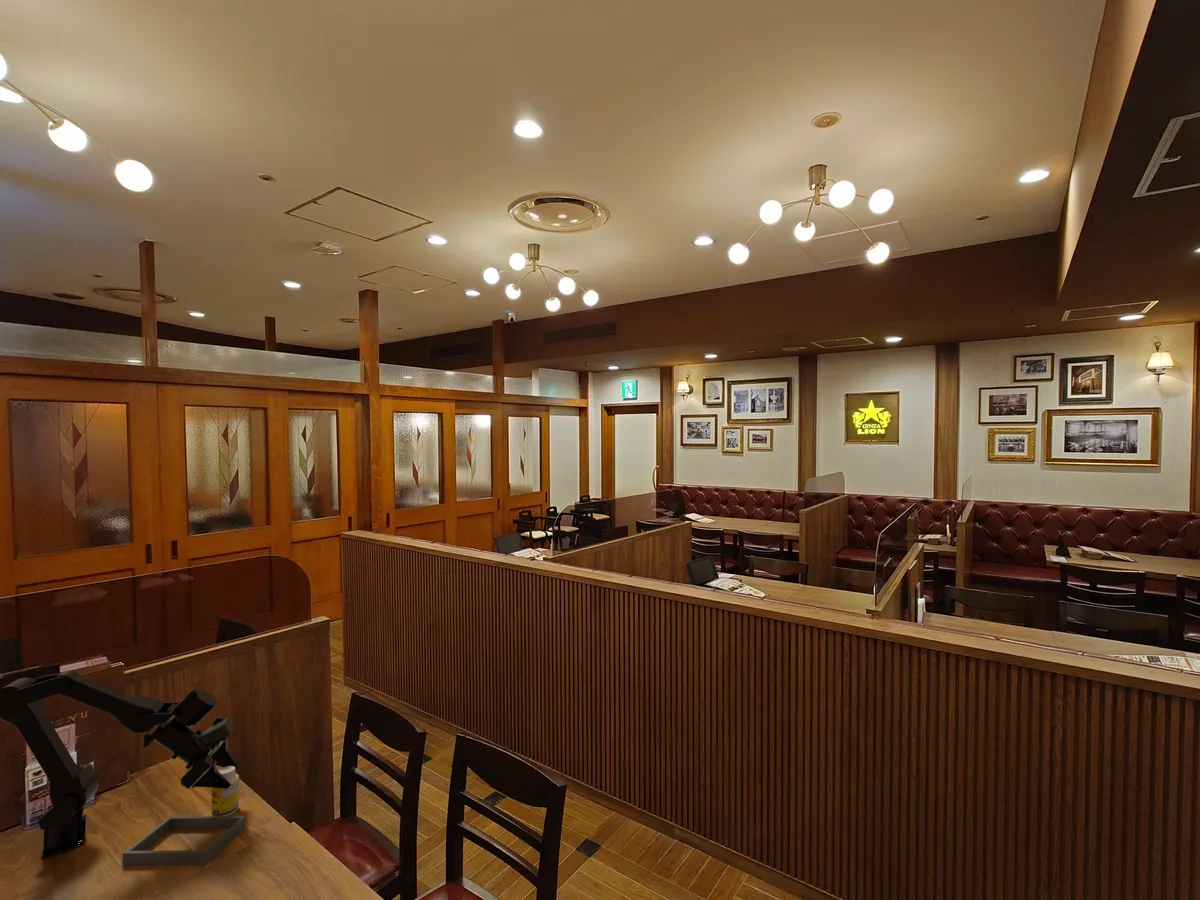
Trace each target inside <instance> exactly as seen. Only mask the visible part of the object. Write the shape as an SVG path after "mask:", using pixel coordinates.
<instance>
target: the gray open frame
mask: <svg viewBox="0 0 1200 900" xmlns="http://www.w3.org/2000/svg"><path fill="white" fill-rule="evenodd" d="M246 827H247V815H229V816H212V815H200V816H198V815H197V816H195V815H192V816H191V815H189V816H188V815H187V816H186V815H184V816H182V815H181V816H168V817H167V818H166V819H165V820H164V821H162V822H161V823H160V824H159V825H157V826H156V827H155V828H153V829H152V830H151V831H150V832H148V833H146V835H144V836H143V837H142V838H140V839H139V840H138V841H136V842H135V843H134V844H132V845H131V846H130V847H129V848H128V849H126V850H125V851H124V852H123V853H122V858H121V859H122V860H121V861H122V862H121V863H122V864H121V866H123V867H124V866H125V867H126V866H131V867H132V866H133V867H134V866H207V865H208V864H209V863H210V862H211V861H213V859H215V857H217V856H218V854H220V853H221V852H222V851H223V850H224V849H225V848H226V847H227V846H228V845H229V844H230V843H231V842H232V841H233V840H234V839H235V838H236V837H237V836H238V835H239V834H240V833H241V832H242V831H244V829H245V828H246ZM172 830H226V831H225V832H224V833H223V834H222V835H220V836H219V837H218V838H217V839H216V840H215V841H214V842H213V843H212V844H210V846H209V847H208V848H207V849H203V850H202V849H201V850H200V849H199V850H197V849H196V850H195V849H194V850H192V849H191V850H190V849H189V850H188V849H187V850H183V849H182V850H181V849H180V850H178V849H177V850H176V849H175V850H147V849H148V848H150V847H151V846H152V845H153V844H155V843H156V842H157V841H159V840H160V839H161V838H162V837H164V836H165V835H166V834H167V833H168V832H170V831H172Z"/></svg>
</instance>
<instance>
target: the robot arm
mask: <svg viewBox="0 0 1200 900" xmlns="http://www.w3.org/2000/svg"><path fill="white" fill-rule="evenodd" d="M59 694H60V695H63V696H65V697H68V698H70V699H72V700H75V701H77V702H80V703H82V704H85V705H87V706H90V707H91V708H94V709H96V710H100V711H101V712H104V713H107V714H109V715H111V716H112V717H114V718H115V719H116V720H117V721H118V723H119V724H120V725H121V726H123V727H125V728H126V729H127V730H129V731H131V732H133V733H135V734H143V733H145V734H144V735H143V744H142V745H143V746H142V747H143V749H145V748H147V747H148V746H149V745H151V743H152V742H153V741H154V742H156V743H157V744H158V745H160V746H162V748H164V749H165V750H167V751H168V752H170V753H171V754H172V755H171V757H170V758H171V759H172V760H176V758H179V759H180V760H181V761H183V762H184V763H186V766H185V768H186V770H185V772H184V774H183V775H182V777H181V779H180V785H181V786H182V787H184V788H185V789H187V790H189V789H190V788H191V789H194V788H211V789H212V788H224V789H227V788H229V787H230V785H231V783H230V782H229V781H228V780H227V779H226V778H225V777H224V776H223V775H222V774H221V773H220V772H219V771H218V770H219V769H217V766H218V767H220V768H223V767H227V766H234V767H235V771H237V770H238V769H239V767H240V765H239V764H238V761H236V759H235V758H234V756H233V755H232V753H231V752H230V750H229V748H228V744H229V737H230V735H231V734H232V731H233V730H234V727H233V726H232V724H231V722H232V719H229V718H228V717H225V716H223V715H219V716H217V717H215V718H214V719H213V722H212V725H211V726H209V727H208V728H207V729H205V730H203V729H202V728H196V729H195V730H194V729H193V728H191V726H196V725H199V723H200V722H201V721H202V720H203V719H204V718H205V717H206V716H207V715H208V714H209V713H210V712H211V711H212V710H213V709H215V707H217V705H218V700H217V698H216V697H215V696H214V695H213V694H212V693H211V692H207V691H205V690H202V689H197V687H194V688H193V689H191V691H190V692H189V693H188V694H187V695H186V696H185V697H184V698H183V699H182V700H180V701H175V702H174V701H173V702H172V701H170V702H169V701H164V702H163V701H162V700H160V699H157V698H154V697H153V698H152V697H148V696H141V695H131V694H127V693H124V692H122V691H120V690H118V689H115V688H113V687H110V686H108V685H106V684H104V683H101V682H98V681H96V680H94V679H91V678H88V677H86V676H84V675H82V674H80V673H79V672H78V671H76V670H71V669H70V670H66V671H64V672H60V673H55V674H48V675H44V676H43V675H42V676H40V677H37V678H31V677H22V678H18V679H16V680H14V681H12V682H11V683H9V684H7V685H6V686H3V687H1V688H0V719H1V721H3V722H6V723H8V724H10V725H12V726H15V728H16V729H17V731H18V732H19V733H20V735H21V736H22V738H23V740H24V741H25V744H26V745H27V746H28V748H29V750H30V751H31V753H32V755H33V757H34V759H36V761H37V763H38V764H39V767H40V768H41V769H42V771H43V773H44V774H45V776H46V778H47V779H48V782H49V785H48V786H49V789H48V791H49V793H48V795H49V799H50V803H51V807H50V808H49V809H48V810H47V811H46V812H45V813H44V814H43V815H42V816H41V817H40V818H39V819H38V821H37V824H38V826H39V828H40V830H43V840H42V841H43V842H42V850H41V851H42V852H41V855H40V857H41V858H46V857H50V856H52V854H53V855H55V854H54V853H56V854H59V853H60V852H59V851H62V852H64V851H63V850H66V849H69V848H72V847H75V846H78V845H80V844H82V845H83V841H82V842H78V841H80V840H82V839H83V840H84V839H85V838H86V836H87V823H88V821H87V819H88V818H87V817H88V816H87V814H84V809H85V808H84V806H86V804H87V803H88V802H89V801H90V800H91V799H92V798H93V797H94V795H95V794H96V792H98V788H99V786H100V784H99V779H100V778H101V776H100V775H98V774H97V773H96V772H95V769H94V765H93V764H91V763H89V764H87V765H86V766H85V767H83V766H81V765H79V764H77V763H76V762H75V760H74V759H73V757H72V755H71V753H70V752H69V750H68V749H67V746H66V745H65V744H64V741H63V740H62V739H61V737H60V735H59V733H58V732H57V730H56V729H55V727H54V725H53V724H52V722H51V721H50V718H49V717H48V716H47V714H46V713H45V698H49V697H51V696H56V695H59ZM172 716H173V717H172ZM171 717H172V718H171ZM170 718H171V719H170ZM168 720H169V721H168ZM155 726H157V727H155ZM154 727H155V728H154ZM152 729H153V730H152ZM150 730H151V731H150ZM78 843H80V844H78ZM78 847H79V846H78ZM75 848H76V847H75ZM72 849H73V848H72ZM69 850H70V849H69ZM66 851H67V850H66ZM58 852H59V853H58Z"/></svg>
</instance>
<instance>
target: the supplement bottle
mask: <svg viewBox="0 0 1200 900" xmlns="http://www.w3.org/2000/svg"><path fill="white" fill-rule="evenodd" d="M217 770H218V771H219V772H220V773H221V774H222V775H223V776H224V777H225V778H226V779H227V780H228V781H229V782H230V783H231V785H230V787H229V788H227V789H224V788H212V787H211V809H210V810H211V811H210V812H211V816H232V815H233V814H234V813H235V812H236V811H237V810H238V809H239V804H240V802H239V799H240V798H239V797H240V794H239V793H240V790H239V789H240V775H239V774H238V773H236V770H235V767H234V766H227V767H220V768H219V769H217Z"/></svg>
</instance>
